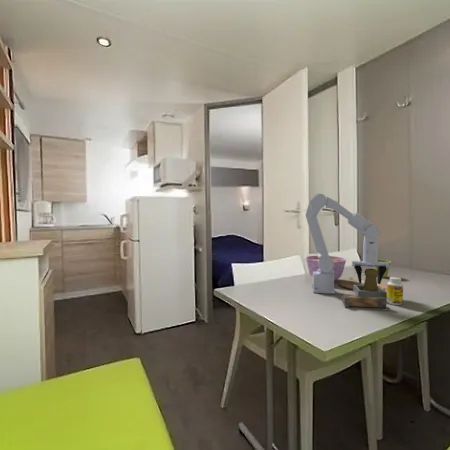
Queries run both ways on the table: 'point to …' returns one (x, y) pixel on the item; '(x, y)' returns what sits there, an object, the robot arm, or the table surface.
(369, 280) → the olive rounded piece
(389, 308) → the crank base
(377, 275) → the plant pot
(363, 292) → the tray
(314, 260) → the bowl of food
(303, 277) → the table surface
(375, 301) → the crank
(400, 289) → the supplement bottle
